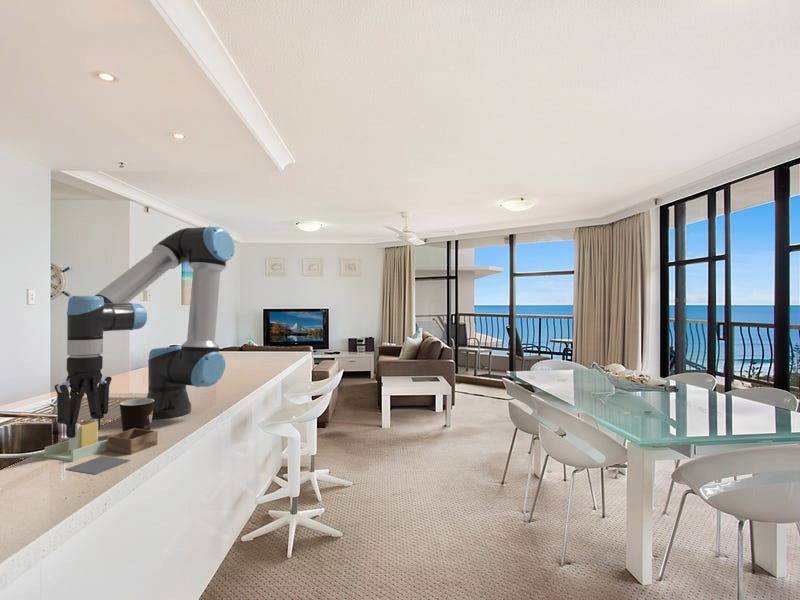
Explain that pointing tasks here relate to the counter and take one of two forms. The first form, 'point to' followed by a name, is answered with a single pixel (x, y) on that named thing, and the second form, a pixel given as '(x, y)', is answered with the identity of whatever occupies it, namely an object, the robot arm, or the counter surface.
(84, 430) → the yellow block
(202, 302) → the robot arm
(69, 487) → the counter surface
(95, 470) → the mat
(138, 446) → the walnut box
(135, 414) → the coffee mug
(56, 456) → the sage tray
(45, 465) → the counter surface
